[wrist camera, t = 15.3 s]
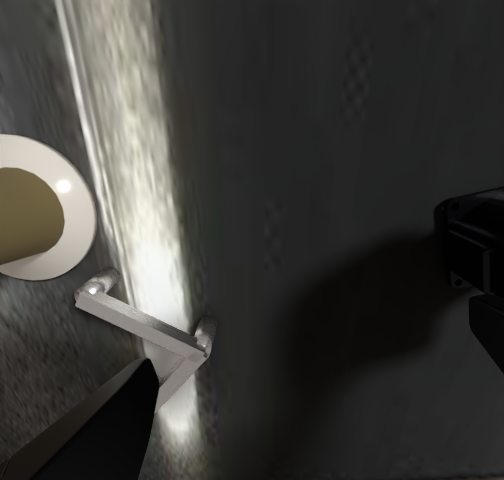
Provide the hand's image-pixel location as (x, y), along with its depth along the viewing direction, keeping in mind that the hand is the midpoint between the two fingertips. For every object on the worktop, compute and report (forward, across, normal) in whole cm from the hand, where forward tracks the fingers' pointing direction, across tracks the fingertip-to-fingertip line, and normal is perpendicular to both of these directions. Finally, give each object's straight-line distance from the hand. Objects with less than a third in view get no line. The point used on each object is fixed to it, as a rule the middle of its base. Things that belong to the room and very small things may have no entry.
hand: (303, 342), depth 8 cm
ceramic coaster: (+13, +17, -5) cm, 22 cm away
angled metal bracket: (+13, +10, +6) cm, 17 cm away
